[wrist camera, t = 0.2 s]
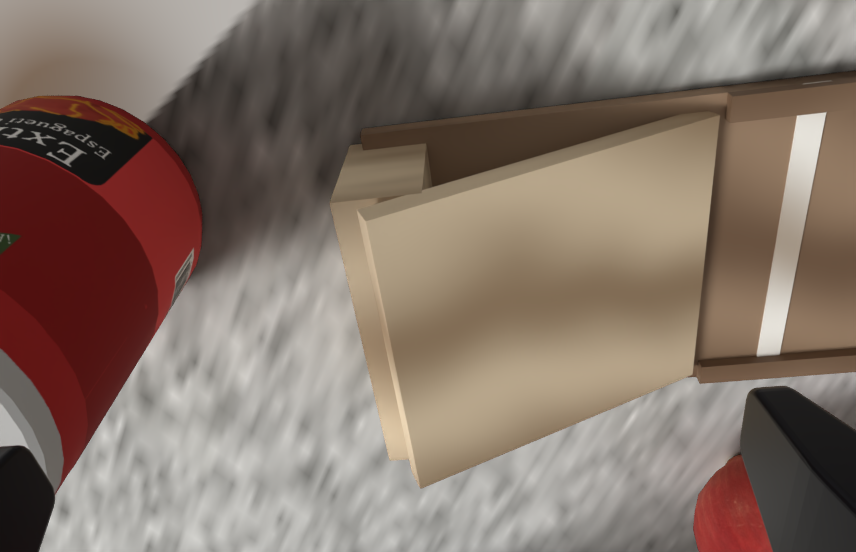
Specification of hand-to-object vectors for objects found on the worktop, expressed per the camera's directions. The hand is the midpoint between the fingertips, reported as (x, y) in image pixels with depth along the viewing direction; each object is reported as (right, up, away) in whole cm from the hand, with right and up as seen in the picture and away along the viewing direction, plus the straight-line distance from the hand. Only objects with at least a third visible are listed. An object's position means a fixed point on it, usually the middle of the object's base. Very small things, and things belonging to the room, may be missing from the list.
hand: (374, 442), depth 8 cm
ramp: (+5, +3, +15) cm, 16 cm away
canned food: (-11, +5, +15) cm, 19 cm away
